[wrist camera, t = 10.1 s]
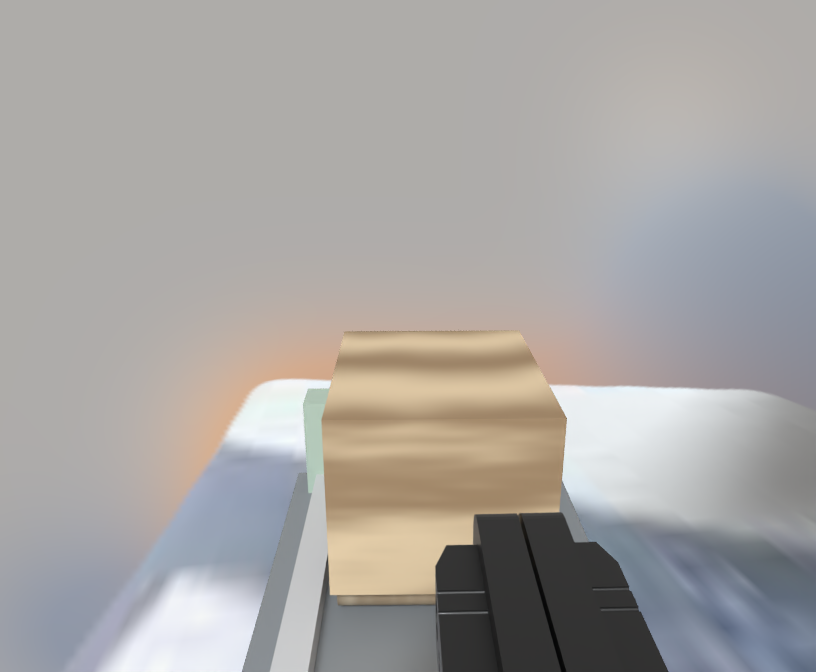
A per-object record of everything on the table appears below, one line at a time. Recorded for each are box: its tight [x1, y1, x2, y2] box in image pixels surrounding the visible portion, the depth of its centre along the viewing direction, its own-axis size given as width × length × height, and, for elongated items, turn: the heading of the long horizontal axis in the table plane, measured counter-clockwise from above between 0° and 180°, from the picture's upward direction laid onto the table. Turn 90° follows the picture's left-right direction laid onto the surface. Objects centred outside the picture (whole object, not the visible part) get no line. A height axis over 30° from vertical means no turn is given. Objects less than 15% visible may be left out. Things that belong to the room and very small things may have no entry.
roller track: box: [242, 389, 589, 672], centre depth 31 cm, size 30×18×8 cm, turn 1°
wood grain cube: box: [321, 331, 567, 605], centre depth 35 cm, size 12×10×11 cm
